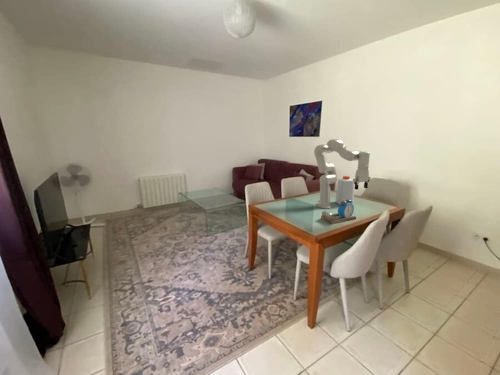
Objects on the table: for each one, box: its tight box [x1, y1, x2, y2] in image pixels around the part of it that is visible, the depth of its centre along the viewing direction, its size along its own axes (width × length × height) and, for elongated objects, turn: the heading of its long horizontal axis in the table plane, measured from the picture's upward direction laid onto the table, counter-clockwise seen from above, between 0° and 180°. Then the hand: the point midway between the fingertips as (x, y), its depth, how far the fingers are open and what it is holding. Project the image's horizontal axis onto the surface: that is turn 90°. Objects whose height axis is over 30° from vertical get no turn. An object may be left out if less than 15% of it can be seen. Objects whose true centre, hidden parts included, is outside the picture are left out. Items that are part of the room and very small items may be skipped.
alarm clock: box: [337, 200, 355, 218], centre depth 186 cm, size 13×6×15 cm, turn 120°
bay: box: [334, 212, 357, 224], centre depth 185 cm, size 13×22×2 cm, turn 112°
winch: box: [320, 210, 337, 225], centre depth 179 cm, size 16×5×8 cm, turn 21°
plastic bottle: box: [335, 175, 355, 206], centre depth 222 cm, size 15×15×28 cm
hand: (361, 188), depth 180 cm, fingers open, 9 cm apart
